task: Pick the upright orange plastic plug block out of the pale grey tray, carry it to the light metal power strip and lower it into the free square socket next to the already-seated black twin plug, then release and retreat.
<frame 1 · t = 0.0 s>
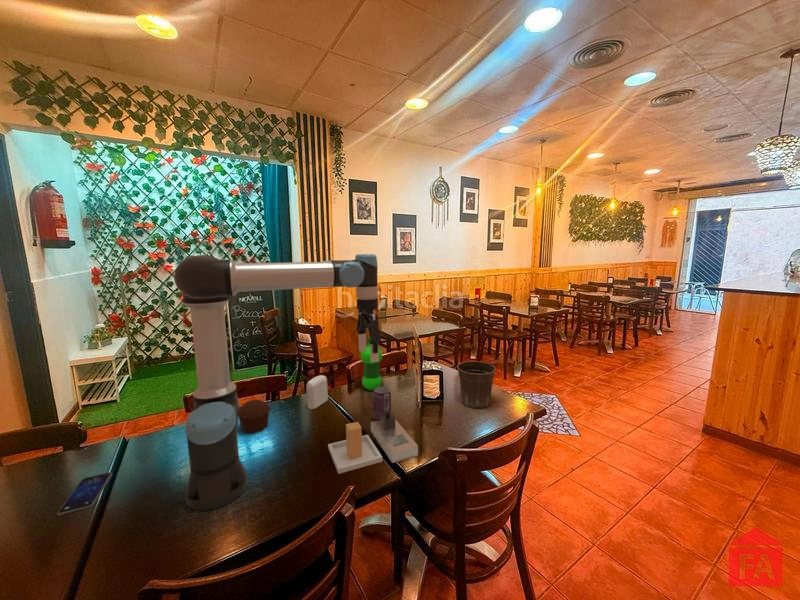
hand: (368, 356, 120), 28 cm above the table, fingers open, 13 cm apart
photo printer: (317, 404, 143), on the table
smartphone: (87, 494, 91), on the table
plastic bottle: (372, 388, 160), on the table
muffin: (255, 427, 125), on the table
plug: (354, 454, 107), resting on tray
beverage can: (382, 418, 131), on the table
plant pot: (475, 402, 144), on the table
tray: (354, 456, 107), on the table
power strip: (392, 443, 114), on the table
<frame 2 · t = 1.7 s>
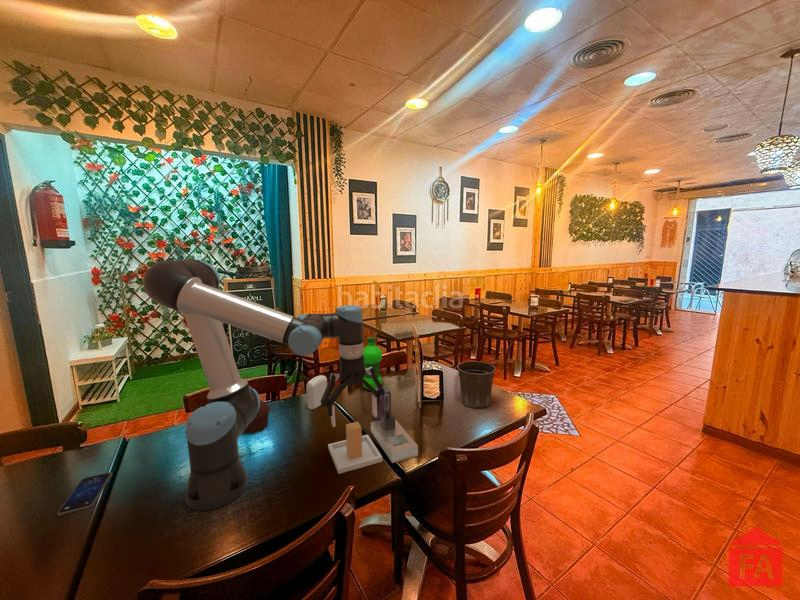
hand: (354, 419, 105), 13 cm above the table, fingers open, 13 cm apart
nothing on the table moved.
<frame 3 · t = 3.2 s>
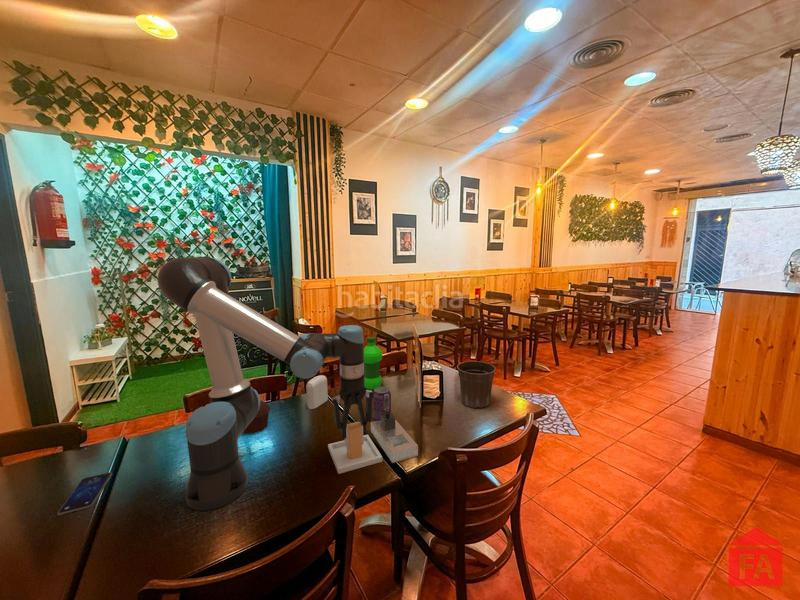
hand: (354, 444, 106), 4 cm above the table, fingers closed on plug, 4 cm apart
plug: (354, 454, 107), resting on tray, touching gripper
everything else where it was.
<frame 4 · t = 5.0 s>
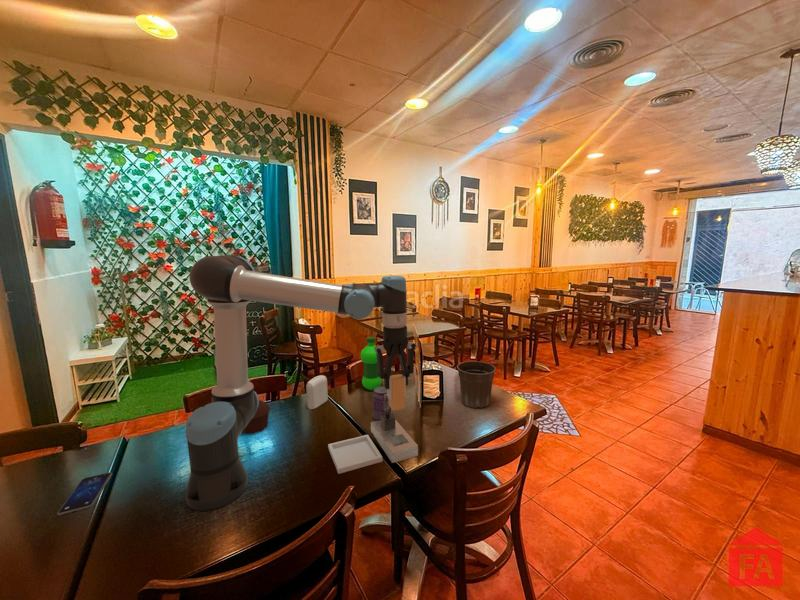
hand: (396, 396, 106), 19 cm above the table, fingers closed on plug, 4 cm apart
plug: (396, 406, 107), point 16 cm above the table, touching gripper
everything else where it was.
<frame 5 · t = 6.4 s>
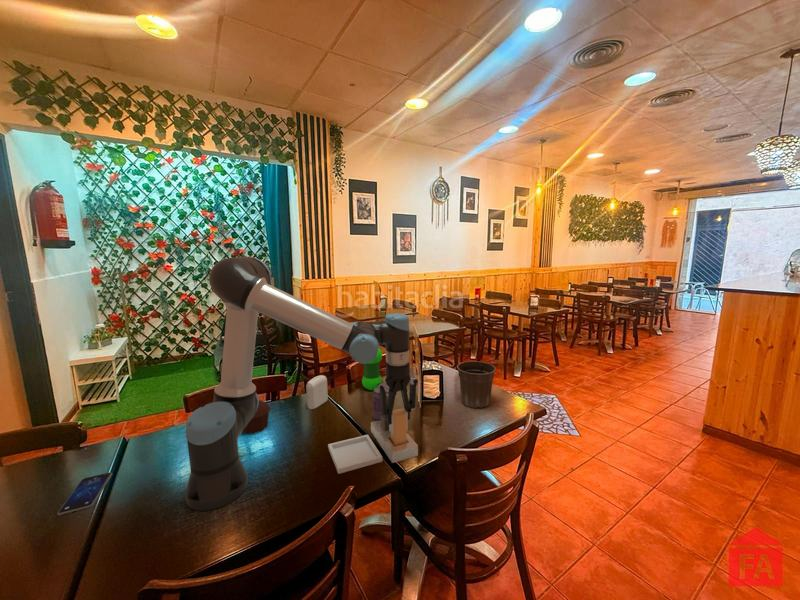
hand: (398, 430, 108), 7 cm above the table, fingers closed on plug, 4 cm apart
plug: (398, 440, 109), point 4 cm above the table, touching gripper
everything else where it was.
when the fingers open (5 cm above the table, at t = 7.1 s): plug drops 1 cm, resting in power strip.
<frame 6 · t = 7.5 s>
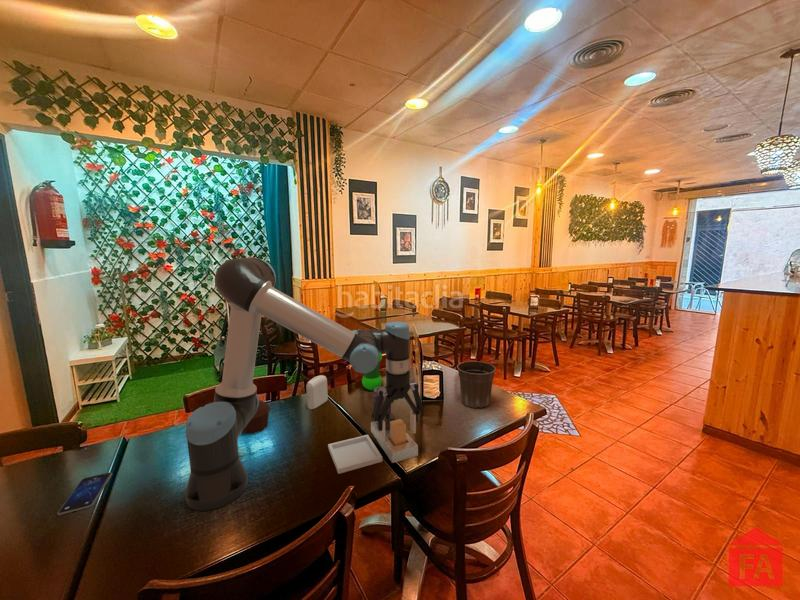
hand: (398, 434, 109), 6 cm above the table, fingers open, 10 cm apart
plug: (398, 451, 109), resting in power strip
everything else where it was.
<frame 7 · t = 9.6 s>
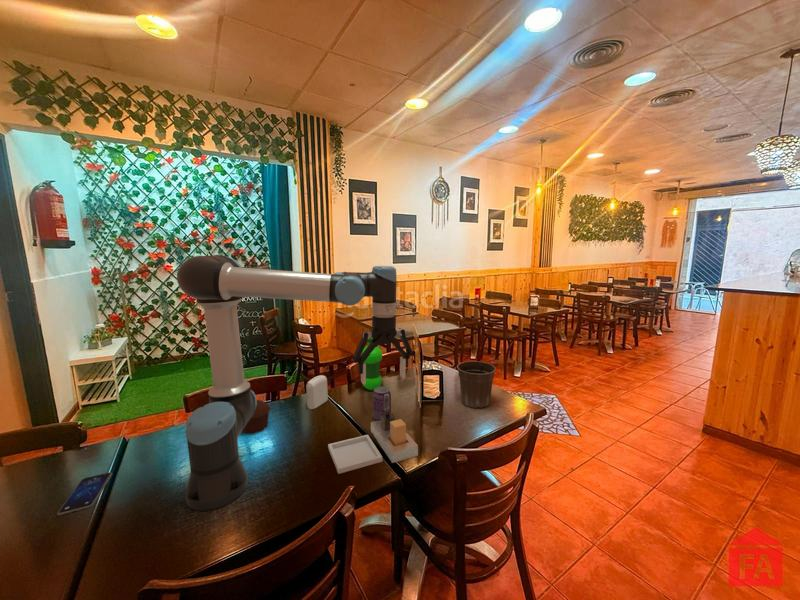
hand: (383, 379, 107), 24 cm above the table, fingers open, 13 cm apart
nothing on the table moved.
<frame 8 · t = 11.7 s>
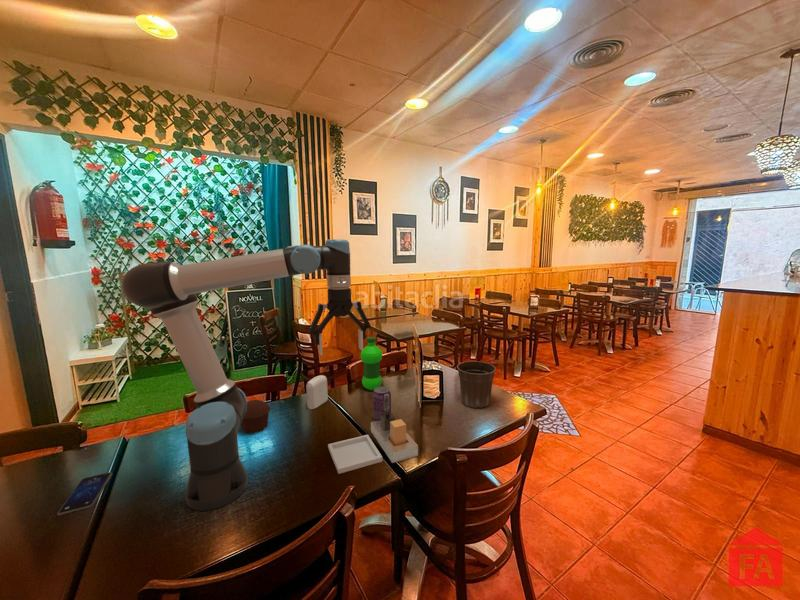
hand: (341, 351, 110), 33 cm above the table, fingers open, 13 cm apart
nothing on the table moved.
at the end: plug 0.0 cm from the target spot on the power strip, point 0.0 cm above the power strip's base; plug tilted 0°; the gripper is holding nothing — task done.
